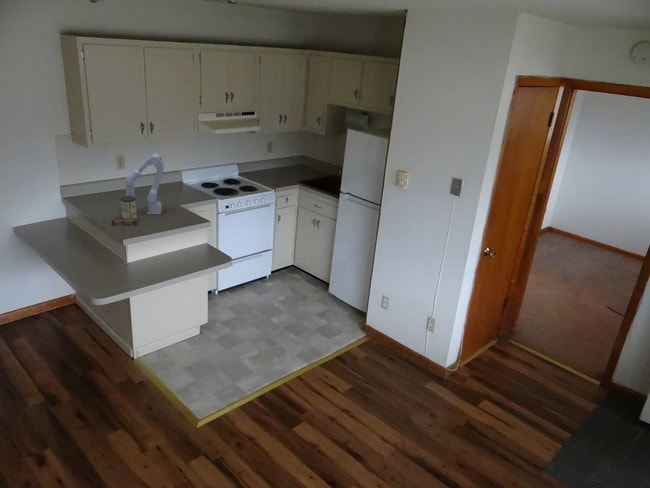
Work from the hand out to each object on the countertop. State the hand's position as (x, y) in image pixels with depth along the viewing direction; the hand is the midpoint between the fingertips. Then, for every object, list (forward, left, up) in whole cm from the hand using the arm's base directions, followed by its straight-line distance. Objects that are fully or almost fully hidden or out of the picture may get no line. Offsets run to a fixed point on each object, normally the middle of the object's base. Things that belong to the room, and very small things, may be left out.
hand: (132, 211), depth 366 cm
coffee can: (0, +9, -2) cm, 9 cm away
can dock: (0, +20, -1) cm, 20 cm away
